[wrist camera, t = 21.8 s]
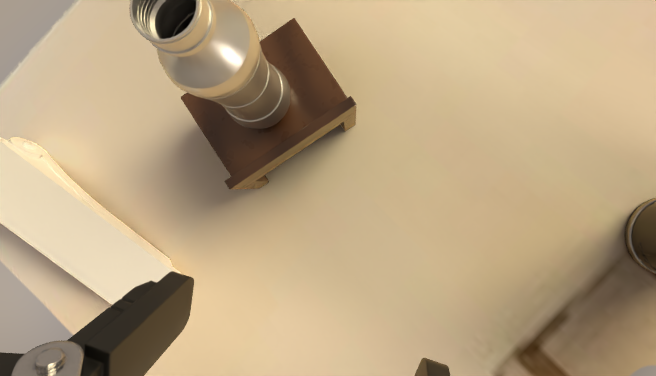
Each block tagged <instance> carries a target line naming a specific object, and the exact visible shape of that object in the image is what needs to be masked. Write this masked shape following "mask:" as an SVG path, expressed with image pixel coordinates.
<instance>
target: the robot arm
mask: <svg viewBox="0 0 656 376" xmlns="http://www.w3.org/2000/svg"><path fill="white" fill-rule="evenodd" d="M625 238H626V244H627V248H628V250H629V252H630V254H631V256H632V257H633V259H634V260H635V261H636V262H637V263H638V264H639V265H640V266H641V267H643V268H644V269H646V270H648V271H650V272H653V273H656V198H654V199H651V200H649V201H647V202H645V203H643V204H642V205H641V206H639V207H638V208H637V209H636V210H635V211H634V212H633V214H632V215H631V217H630V219H629V221H628V223H627V227H626V233H625ZM193 287H194V279H193V278H191V277H189V276H186V275H183V274H180V273H177V272H174V271H171V272H169V273H168V274H167V275H165V276H164V277H163V278H162V279H161V280H160V281H158V282H154V281H149V282H146V283H144V284H141V285H139V286H136V287H134V288H133V289H132V290H131V291H129V292H128V293H127V294H125V295H124V296H123V297H122V299H119V300H118V301H117V302H115V303H114V304H113V305H112V306H111V308H108V309H107V310H105V311H104V312H103V313H101V314H100V315H99V316H98V317H96V318H95V319H94V320H93V321H91V322H90V323H89V324H88V325H86V326H85V327H84V328H82V329H81V330H80V331H79V332H77V333H76V334H75V335H74V336H72V337H71V338H70V339H68V340H67V341H53V342H49V343H45V344H42V345H40V346H37V347H35V348H33V349H32V350H30V351H28V352H27V353H26V354H14V353H0V376H144V375H145V374H146V373H147V371H148V370H149V369H150V368H151V367H152V366H153V364H154V363H155V362H156V361H157V360H158V359H159V357H160V356H161V355H162V354H163V353H164V352H165V350H166V349H167V348H168V347H169V346H170V345H171V343H172V342H173V341H174V340H175V339H176V338H177V336H178V335H179V334H180V333H181V332H182V330H183V329H184V327H185V325H186V323H187V321H188V319H189V316H190V310H191V302H192V294H193ZM415 376H450V373H449V368H448V366H447V365H444V364H441V363H438V362H435V361H433V360H430V359H427V358H423V359H422V360H421V362H420V364H419V367H418V369H417V371H416V373H415Z"/></svg>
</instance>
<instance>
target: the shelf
mask: <svg viewBox="0 0 656 376" xmlns="http://www.w3.org/2000/svg"><path fill="white" fill-rule="evenodd" d="M260 45H261V49H262V52H263V54H264V56H265V58H266V60H267V61H268V62H269V63H270V64H272V65H273V66H275V67H276V68H277V69H278V70H280V71H281V72H282V73H283V75H284V76H285V77H286V79H287V81H288V84H289V87H290V105H289V108H288V111H287V112H286V114H285V116H284V117H283V118H282V119H281V120H280V121H279V122H278V123H277V124H275V125H273V126H271V127H268V128H264V129H251V128H247V127H244V126H242V125H240V124H238V123H237V122H236V121H234V119H233V118H232V117H231V116H230V115H229V114H228V112H227V111H226V109H225V108H224V107H223V106H222V105H221V104H219V103H217V102H215V101H212V100H208V99H205V98H201V97H197V96H194V95H192V94H190V93H188V92H187V93H186V94H184V95H183V96H182V97H181V99H182V101H183V102H184V104H185V105H186V107H187V108H188V110H189V111H190V113H191V115H192V116H193V118H194V119H195V121H196V122H197V124H198V125H199V127H200V129H201V130H202V132H203V133H204V135H205V136H206V138H207V139H208V141H209V142H210V144H211V146H212V147H213V149H214V150H215V152H216V153H217V155H218V156H219V158H220V160H221V161H222V163H223V164H224V166H225V167H226V169H227V170H228V172H229V174H230V175H231V177H230V178H228V179H227V180H225V183H226V184H227V186H228V187H229V189H258V188H261V187H262V186H264V185H265V184H267V183H268V182H269V181H268V179H267V178H266V176H265V174H267V173H268V172H270V171H271V170H273V169H274V168H276V167H277V166H279V165H280V164H282V163H283V162H285V161H286V160H288V159H289V158H291V157H292V156H294V155H295V154H297V153H298V152H300V151H301V150H303V149H304V148H306V147H307V146H309V145H310V144H311V143H313V142H314V141H316V140H317V139H319V138H320V137H322V136H323V135H325V134H326V133H328V132H329V131H331V130H332V129H334V128H335V127H337V126H338V125H340V124H341V126H342V127H343V129H344V130H345V131H346V130H348V129H349V128H351V127H352V126H354V125H355V123H356V103H355V102H354V100H353V99H352V97H351V96H350V97H349V98H347V97H346V95H345V94H344V92H343V91H342V89H341V88H340V86H339V85H338V83H337V82H336V80H335V79H334V77H333V76H332V74H331V73H330V71H329V69H328V68H327V66H326V65H325V63H324V62H323V60H322V59H321V57H320V56H319V54H318V53H317V51H316V50H315V48H314V47H313V45H312V44H311V42H310V41H309V39H308V38H307V36H306V35H305V33H304V32H303V30H302V29H301V27H300V26H299V24H298V23H297V21H296V20H295V18H293V19H292V20H290V21H289V22H287V23H286V24H285V25H283V26H282V27H280V28H279V29H277V30H276V31H275V32H273V33H272V34H270V35H269V36H267V37H266V38H265V39H263V40H262V41H260Z"/></svg>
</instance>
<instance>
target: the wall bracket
mask: <svg viewBox="0 0 656 376" xmlns="http://www.w3.org/2000/svg"><path fill="white" fill-rule="evenodd" d="M0 223H1V224H2V225H4V226H5V227H6V228H8V229H9V230H11V231H12V232H13V233H15V234H16V235H17V236H19V237H20V238H21V239H23V240H24V241H26V242H27V243H28V244H30V245H31V246H32V247H34V248H35V249H36V250H38V251H39V252H41V253H42V254H43V255H45V256H46V257H47V258H49V259H50V260H51V261H53V262H54V263H56V264H57V265H58V266H60V267H61V268H62V269H64V270H65V271H67V272H68V273H69V274H71V275H72V276H73V277H75V278H76V279H77V280H79V281H80V282H82V283H83V284H84V285H86V286H87V287H88V288H90V289H91V290H92V291H94V292H95V293H97V294H98V295H99V296H101V297H102V298H103V299H105V300H106V301H108V302H109V303H110V304H112V305H113V304H114V303H115V302H117V301H118V300H119V299H122V297H123V296H124V295H125V294H127V293H128V292H129V291H131V290H132V289H133V288H134V287H136V286H139V285H141V284H144V283H146V282H149V281H154V282H158V281H160V280H161V279H162V278H163V277H164V276H165V275H167V274H168V273H169V272H171V271H174V272H177V273H180V272H179V271H178V270H176V269H175V268H174V267H173V266H172V263H171V261H170V260H171V259H169V258H168V257H167V256H166V255H164V254H163V253H162V252H160V251H159V250H158V249H156V248H155V247H154V246H153V245H151V244H150V243H149V242H147V241H146V240H145V239H144V238H142V237H141V236H140V235H138V234H137V233H136V232H134V231H133V230H132V229H131V228H129V227H128V226H127V225H125V224H124V223H123V222H122V221H120V220H119V219H118V218H116V217H115V216H114V215H112V214H111V213H110V212H109V211H107V210H106V209H105V208H104V207H102V206H101V205H100V204H99V203H98V202H96V201H95V200H94V199H93V198H92V197H91V196H89V195H88V194H87V193H86V192H85V191H84V190H83V189H82V188H80V187H79V186H78V185H77V184H76V183H75V182H74V181H73V180H72V179H71V178H70V177H69V176H68V175H67V174H66V173H65V172H64V171H63V170H62V169H61V168H60V167H59V165H58V164H57V163H56V162H55V161H54V160H53V159H52V157H51V156H50V155H49V153H48V152H47V151H46V150H44V149H43V148H41V147H40V146H39V145H37V144H36V143H34V142H32V141H29V140H25V139H22V138H18V137H12V138H10V140H4V139H3V138H2V137H0ZM180 274H182V273H180Z"/></svg>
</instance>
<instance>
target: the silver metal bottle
mask: <svg viewBox="0 0 656 376" xmlns="http://www.w3.org/2000/svg"><path fill="white" fill-rule="evenodd" d="M129 9H130V17H131V20H132V23H133V25H134V26H135V28H136V29H137V30H138V32H139V33H140V34H141V35H142V36H143V37H145V38H146V39H147V40H149V41H150V42H151V43H152V44H153V46H155V47H156V48H157V54H158V57H159V60H160V63H161V65H162V67H163V69H164V70H165V72H166V74H167V75H168V77H169V78H170V79H171V81H172V82H173V83H174V84H175V85H176V86H178V87H179V88H180V89H181V90H183V91H185V92H188V93H190V94H192V95H194V96H197V97H201V98H205V99H208V100H212V101H215V102H217V103H219V104H221V105H222V106H223V107H224V108H225V109H226V111H227V112H228V114H229V115H230V116H231V117H232V118H233V119H234V121H236V122H237V123H238V124H240V125H242V126H244V127H247V128H251V129H264V128H268V127H271V126H273V125H275V124H277V123H278V122H279V121H280V120H281V119H282V118H283V117H284V116H285V114H286V112H287V111H288V108H289V105H290V87H289V84H288V81H287V79H286V77H285V76H284V75H283V73H282V72H281V71H280V70H278V69H277V68H276V67H275V66H273V65H272V64H270V63H269V62H268V61H267V60H266V58H265V56H264V54H263V52H262V49H261V45H260V42H259V38H258V34H257V31H256V29H255V27H254V24H253V23H252V21H251V19H250V17H249V16H248V15H247V14H246V12H245V11H244V10H243V9H241V8H240V7H239V6H237V5H236V4H235V3H233V2H231V1H229V0H130V8H129Z"/></svg>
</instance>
